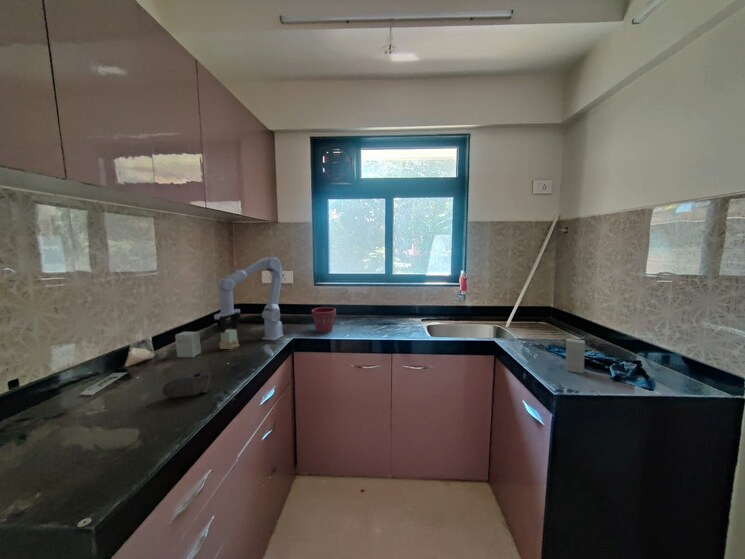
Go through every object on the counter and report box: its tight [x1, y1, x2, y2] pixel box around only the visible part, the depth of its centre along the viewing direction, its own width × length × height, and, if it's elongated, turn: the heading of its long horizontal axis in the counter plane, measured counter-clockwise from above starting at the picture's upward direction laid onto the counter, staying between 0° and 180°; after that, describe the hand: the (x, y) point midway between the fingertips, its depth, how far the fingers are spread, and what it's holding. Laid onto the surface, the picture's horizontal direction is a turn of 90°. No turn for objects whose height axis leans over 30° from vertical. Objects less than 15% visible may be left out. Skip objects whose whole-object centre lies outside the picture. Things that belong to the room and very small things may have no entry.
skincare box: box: [564, 338, 586, 374], centre depth 117 cm, size 6×4×12 cm
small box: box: [174, 331, 202, 358], centre depth 138 cm, size 8×6×10 cm
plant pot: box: [311, 306, 337, 334], centre depth 177 cm, size 14×14×13 cm
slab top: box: [219, 338, 239, 348], centre depth 148 cm, size 6×6×2 cm
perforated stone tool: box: [161, 371, 215, 399], centre depth 100 cm, size 15×5×7 cm, turn 111°
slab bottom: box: [219, 343, 240, 351], centre depth 148 cm, size 6×6×2 cm
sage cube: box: [220, 328, 238, 343], centre depth 147 cm, size 5×5×5 cm
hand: (228, 330), depth 148 cm, fingers open, 7 cm apart
